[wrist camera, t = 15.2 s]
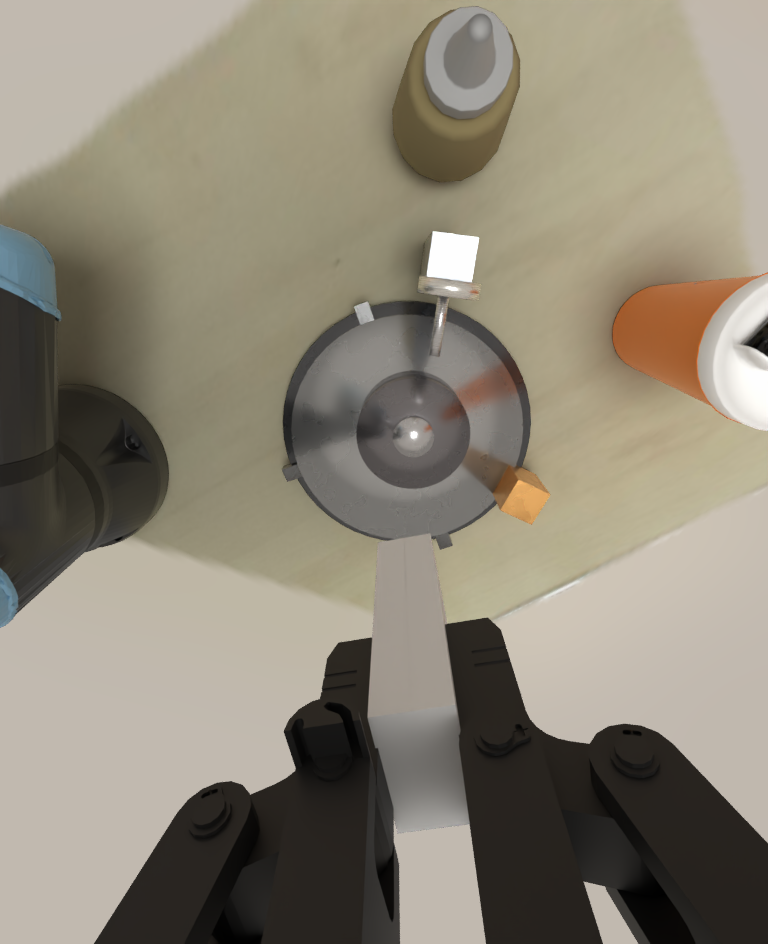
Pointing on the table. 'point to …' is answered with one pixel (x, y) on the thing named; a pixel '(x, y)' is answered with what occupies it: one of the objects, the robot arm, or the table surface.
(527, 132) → the table surface
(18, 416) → the robot arm
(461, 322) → the turntable base
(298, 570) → the table surface
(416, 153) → the squeeze bottle
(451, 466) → the cover
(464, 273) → the indicator post
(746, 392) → the shaker bottle
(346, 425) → the platter
